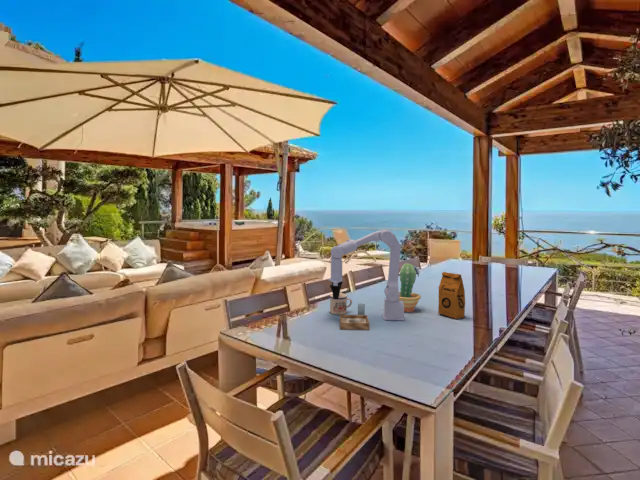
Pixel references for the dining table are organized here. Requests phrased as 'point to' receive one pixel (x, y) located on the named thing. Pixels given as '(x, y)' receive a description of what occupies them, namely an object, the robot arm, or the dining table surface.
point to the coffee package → (451, 296)
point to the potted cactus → (408, 287)
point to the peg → (361, 309)
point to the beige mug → (339, 304)
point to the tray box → (354, 322)
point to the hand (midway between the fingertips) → (336, 297)
